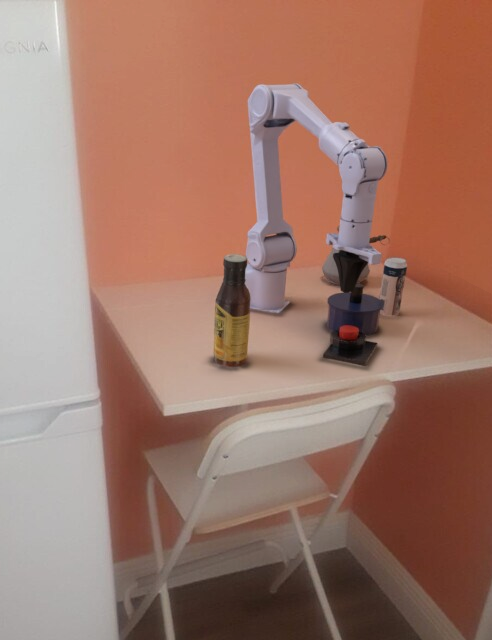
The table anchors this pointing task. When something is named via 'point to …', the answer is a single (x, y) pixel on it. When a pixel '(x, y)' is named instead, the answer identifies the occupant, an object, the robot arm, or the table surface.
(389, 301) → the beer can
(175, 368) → the table surface
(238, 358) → the sauce bottle
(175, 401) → the table surface
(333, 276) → the coffee pot
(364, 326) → the pot
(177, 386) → the table surface
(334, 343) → the control block
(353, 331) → the button
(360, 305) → the lid
